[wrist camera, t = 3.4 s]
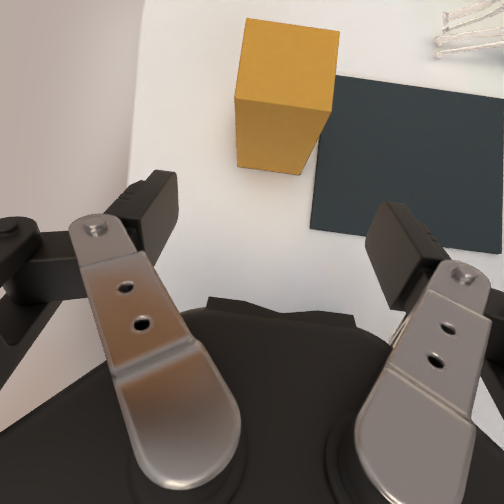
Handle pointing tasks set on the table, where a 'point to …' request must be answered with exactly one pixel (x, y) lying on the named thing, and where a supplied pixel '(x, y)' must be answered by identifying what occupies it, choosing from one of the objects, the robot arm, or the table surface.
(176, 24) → the table surface
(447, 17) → the llama figurine
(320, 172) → the mat
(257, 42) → the block
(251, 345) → the robot arm
